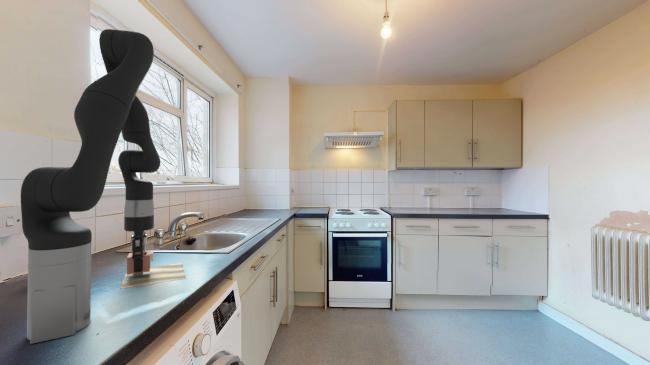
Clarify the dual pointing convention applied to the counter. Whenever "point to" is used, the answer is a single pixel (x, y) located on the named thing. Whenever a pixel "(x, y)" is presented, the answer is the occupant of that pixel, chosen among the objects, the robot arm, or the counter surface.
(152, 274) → the beige flat rectangular board
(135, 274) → the d shaft post
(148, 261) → the brown boxy piece
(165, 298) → the counter surface
